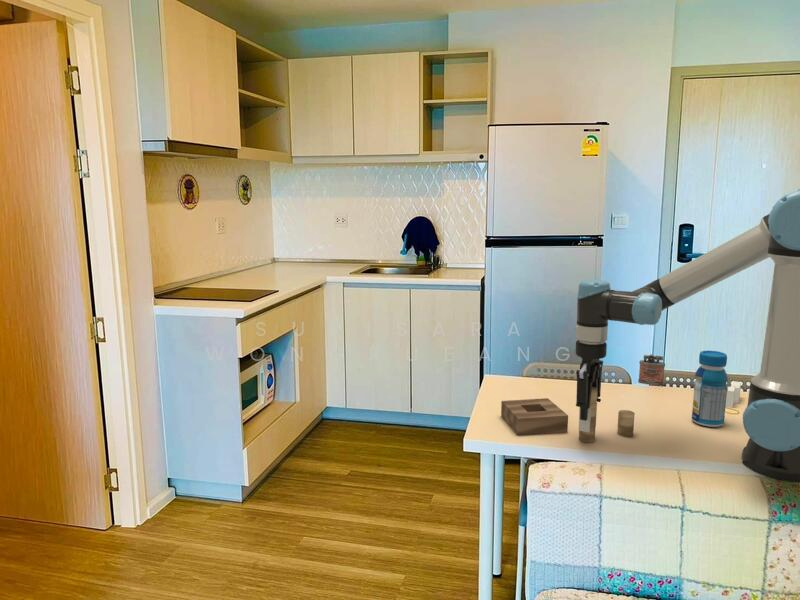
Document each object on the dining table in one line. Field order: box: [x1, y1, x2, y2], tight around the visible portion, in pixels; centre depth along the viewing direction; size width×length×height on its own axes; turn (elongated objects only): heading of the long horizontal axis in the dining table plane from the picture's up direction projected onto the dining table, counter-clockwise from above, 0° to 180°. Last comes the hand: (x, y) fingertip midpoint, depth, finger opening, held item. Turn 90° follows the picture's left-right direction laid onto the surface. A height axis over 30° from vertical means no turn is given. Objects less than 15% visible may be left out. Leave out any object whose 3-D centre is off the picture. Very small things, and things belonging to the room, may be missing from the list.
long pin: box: [578, 386, 598, 443], centre depth 153 cm, size 4×4×14 cm
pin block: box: [500, 397, 569, 437], centre depth 164 cm, size 14×14×5 cm
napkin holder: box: [725, 380, 742, 409], centre depth 182 cm, size 15×11×6 cm
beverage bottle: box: [691, 350, 729, 428], centre depth 164 cm, size 8×8×20 cm
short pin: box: [616, 409, 635, 438], centre depth 158 cm, size 4×4×6 cm
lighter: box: [637, 353, 666, 387], centre depth 200 cm, size 8×3×10 cm, turn 62°
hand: (587, 428), depth 154 cm, fingers closed on long pin, 4 cm apart
